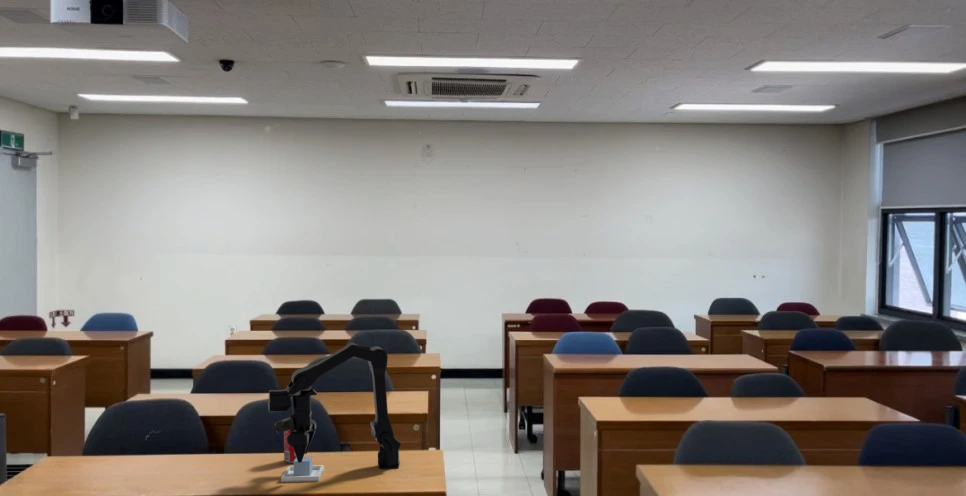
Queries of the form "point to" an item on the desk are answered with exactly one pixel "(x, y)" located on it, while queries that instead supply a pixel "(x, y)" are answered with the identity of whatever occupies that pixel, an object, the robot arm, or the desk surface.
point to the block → (303, 467)
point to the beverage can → (288, 449)
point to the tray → (290, 477)
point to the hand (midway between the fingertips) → (302, 457)
